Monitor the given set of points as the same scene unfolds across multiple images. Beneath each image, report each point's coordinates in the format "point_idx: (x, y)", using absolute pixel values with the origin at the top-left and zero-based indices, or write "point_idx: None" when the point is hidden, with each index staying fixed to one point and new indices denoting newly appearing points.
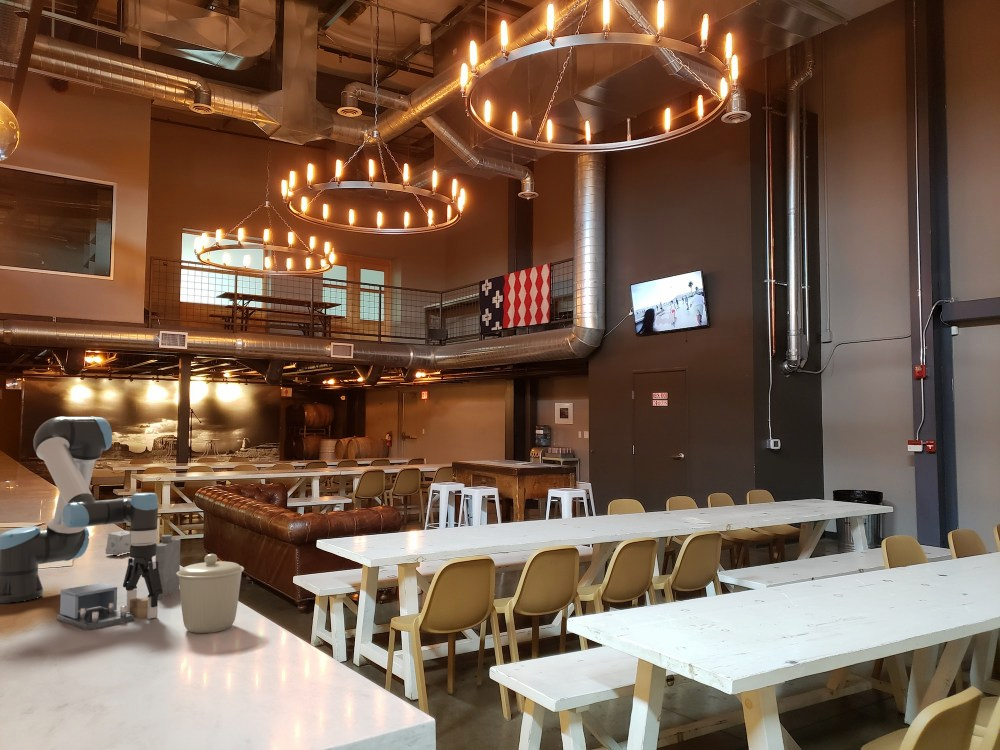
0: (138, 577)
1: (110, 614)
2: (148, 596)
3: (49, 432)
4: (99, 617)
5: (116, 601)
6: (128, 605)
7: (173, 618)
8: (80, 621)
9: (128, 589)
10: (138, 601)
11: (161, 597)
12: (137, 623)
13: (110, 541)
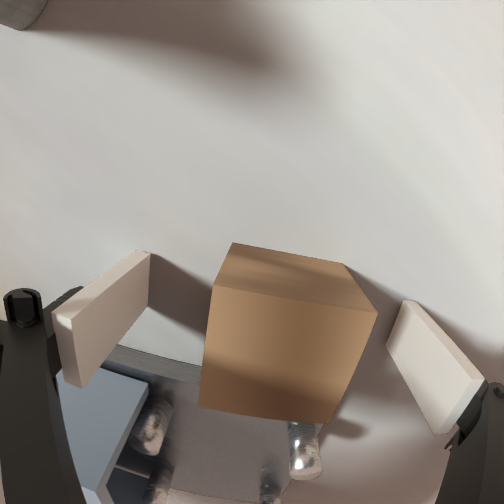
0: (66, 479)
1: (197, 427)
2: (451, 443)
3: None
4: (208, 461)
5: (131, 418)
6: (131, 321)
7: (487, 267)
8: (204, 492)
9: (55, 376)
10: (324, 418)
11: (42, 5)
12: (387, 398)
13: None
